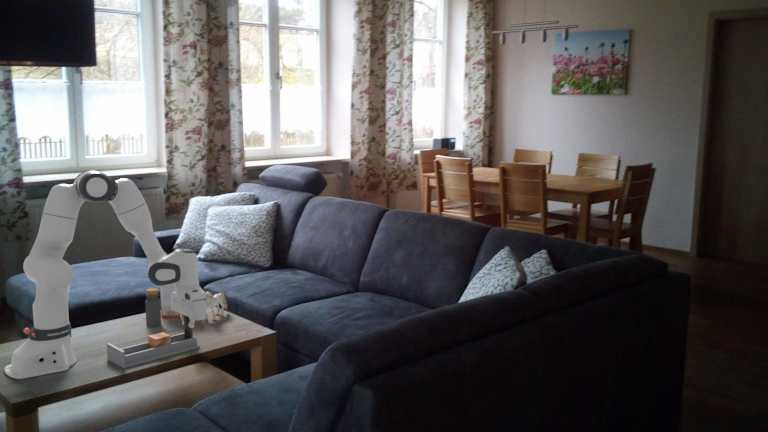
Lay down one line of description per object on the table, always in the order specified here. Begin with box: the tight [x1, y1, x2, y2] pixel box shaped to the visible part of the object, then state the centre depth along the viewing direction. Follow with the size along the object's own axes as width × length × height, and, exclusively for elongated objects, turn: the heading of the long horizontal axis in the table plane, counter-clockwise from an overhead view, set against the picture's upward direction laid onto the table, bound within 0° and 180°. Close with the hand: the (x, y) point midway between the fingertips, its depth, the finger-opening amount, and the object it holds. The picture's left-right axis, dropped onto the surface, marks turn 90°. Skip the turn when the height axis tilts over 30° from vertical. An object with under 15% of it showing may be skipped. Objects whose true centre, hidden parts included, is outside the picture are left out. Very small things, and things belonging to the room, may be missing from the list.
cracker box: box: [159, 283, 181, 318], centre depth 301 cm, size 14×6×21 cm, turn 84°
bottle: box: [144, 287, 162, 328], centre depth 289 cm, size 6×6×15 cm
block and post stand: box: [147, 316, 194, 349], centre depth 261 cm, size 16×6×10 cm, turn 136°
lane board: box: [106, 332, 201, 369], centre depth 257 cm, size 30×12×6 cm, turn 136°
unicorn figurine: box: [204, 291, 228, 322], centre depth 297 cm, size 7×20×13 cm, turn 177°
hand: (188, 326), depth 266 cm, fingers closed on block and post stand, 3 cm apart
